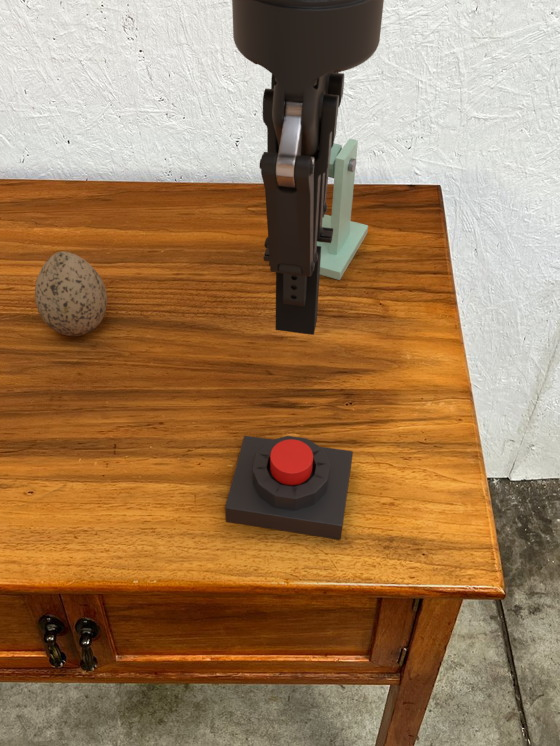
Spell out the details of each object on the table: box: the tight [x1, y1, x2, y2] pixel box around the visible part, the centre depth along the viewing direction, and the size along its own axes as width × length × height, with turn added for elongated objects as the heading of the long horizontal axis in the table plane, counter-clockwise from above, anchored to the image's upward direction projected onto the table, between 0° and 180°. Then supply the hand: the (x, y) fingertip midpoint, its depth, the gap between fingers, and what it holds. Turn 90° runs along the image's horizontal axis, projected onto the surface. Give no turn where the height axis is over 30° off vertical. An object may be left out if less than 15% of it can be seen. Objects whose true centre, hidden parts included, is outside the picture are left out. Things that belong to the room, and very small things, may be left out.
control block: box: [224, 435, 354, 541], centre depth 68 cm, size 10×8×4 cm
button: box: [270, 439, 313, 485], centre depth 66 cm, size 4×4×2 cm
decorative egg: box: [34, 250, 108, 337], centre depth 80 cm, size 7×7×10 cm
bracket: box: [317, 138, 369, 281], centre depth 89 cm, size 10×8×14 cm
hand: (296, 325), depth 54 cm, fingers closed
